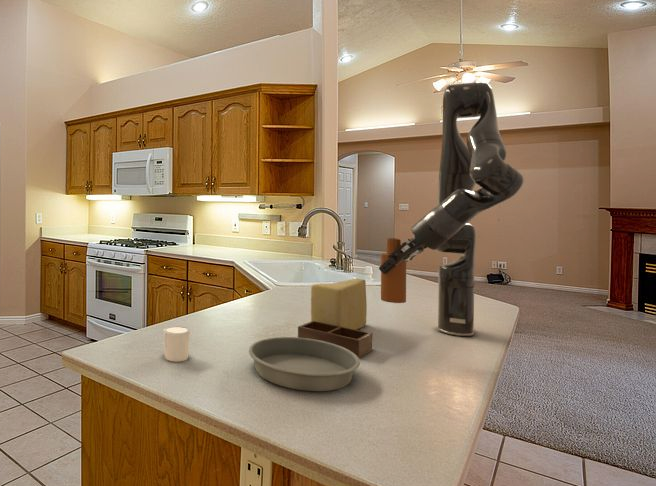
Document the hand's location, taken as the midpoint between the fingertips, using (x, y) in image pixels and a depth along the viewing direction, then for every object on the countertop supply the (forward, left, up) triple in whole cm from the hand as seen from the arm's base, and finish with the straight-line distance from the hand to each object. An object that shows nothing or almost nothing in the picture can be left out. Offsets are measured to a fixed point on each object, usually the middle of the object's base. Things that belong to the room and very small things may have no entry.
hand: (386, 269), depth 117 cm
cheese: (-13, -16, -22) cm, 30 cm away
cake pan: (+27, -9, -22) cm, 36 cm away
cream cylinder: (+41, -36, -22) cm, 59 cm away
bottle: (0, +2, -8) cm, 8 cm away
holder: (+4, -12, -22) cm, 25 cm away
